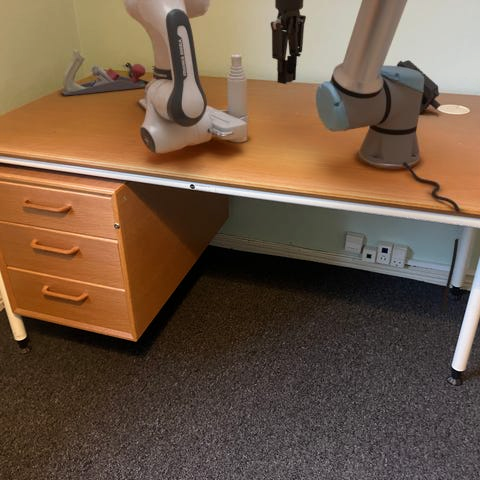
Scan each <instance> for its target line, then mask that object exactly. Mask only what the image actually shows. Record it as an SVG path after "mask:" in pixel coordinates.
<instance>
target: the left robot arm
mask: <svg viewBox="0 0 480 480" xmlns="http://www.w3.org/2000/svg"><path fill="white" fill-rule="evenodd" d="M122 3H123V6H124V9H125V11H126V13H127V14H128V15H129V16H130V18H132V19H133V20H135V21H136V22H138V23H139V24H140V25H141V26H142V27H143V29H144V30H145V32H146V33H147V35H148V37H149V40H150V42H151V47H152V52H153V59H154V65H153V66H151V67H152V78H151V80H149V81H147V80H145V79H141V78H138V80H137V81H143V82H144V83H145V87H144V90H143V96H144V98H141V99H139V100H138V103H139V105H140V106H141V107H142V108H143V109H145V116H144V120H143V122H142V124H141V126H140V129H139V133H140V137H141V141H142V142H143V144H144V145H145V147H146V148H147V149H148V150H149V151H150V152H152V153H154V154H165V153H171V152H174V151H178V150H182V149H184V148H185V147H187V146H188V147H189V146H192V147H193V146H196V145H200V144H203V143H207V142H210V141H211V140H212V138H213V136H215V137H216V138H218V139H221V140H229V139H234V138H239V137H243V136H245V135H246V134H247V135H248V123H249V122H250V116H248V115H247V116H245V115H244V116H241V118H240V119H239V118H235V117H233V116H231V115H228V109H217V108H214V107H212V106H210V105H207V104H208V102H207V101H208V100H207V97H206V96H207V95H206V93H205V91H204V89H203V86H202V83H201V81H200V75H199V68H198V61H197V54H196V48H195V41H194V35H193V29H192V26H191V25H192V24H191V22H190V19H194V18H199V17H202V16H205V14H206V13H207V12H208V10H209V8H210V5H211V0H122ZM126 63H127V64H128V65H127V64H126ZM126 63H125V67H129V69H130V70H129V71H128V74H129V77H130V78H132V76H133V74H132V66H133V65H132V64H131V63H130V62H126Z"/></svg>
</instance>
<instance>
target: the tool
mask: <svg viewBox="0 0 480 480" xmlns="http://www.w3.org/2000/svg"><path fill="white" fill-rule="evenodd" d="M396 66H399V67H404V68H409V69H413V70H416V71H418V72H420V73H421V74H422V75H423V76H424V87H423V90H424V92H423V96H422V101H421V107H420V112H419V114H421V113H423V112H424V111H425V110H427V109H428V108H429V107H430V106H431V107H432V108H433V109H435V110H437V109H439V107H441V105H442V104H441V103H440V102H438V101H437V99H436V98H437V97H439V96H440V92H439V86H438V84H437V83H436V82H434V81H433V79H431V78H430V77H429V76H428V75H427V74H426V73H424V72H423V71H422V69H420V68H419V67H418V66H417V65H416V64H414V62H412V61H411V60H409V59H408V60H404V61H402V60H400V61H398V62H397V64H396Z"/></svg>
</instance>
